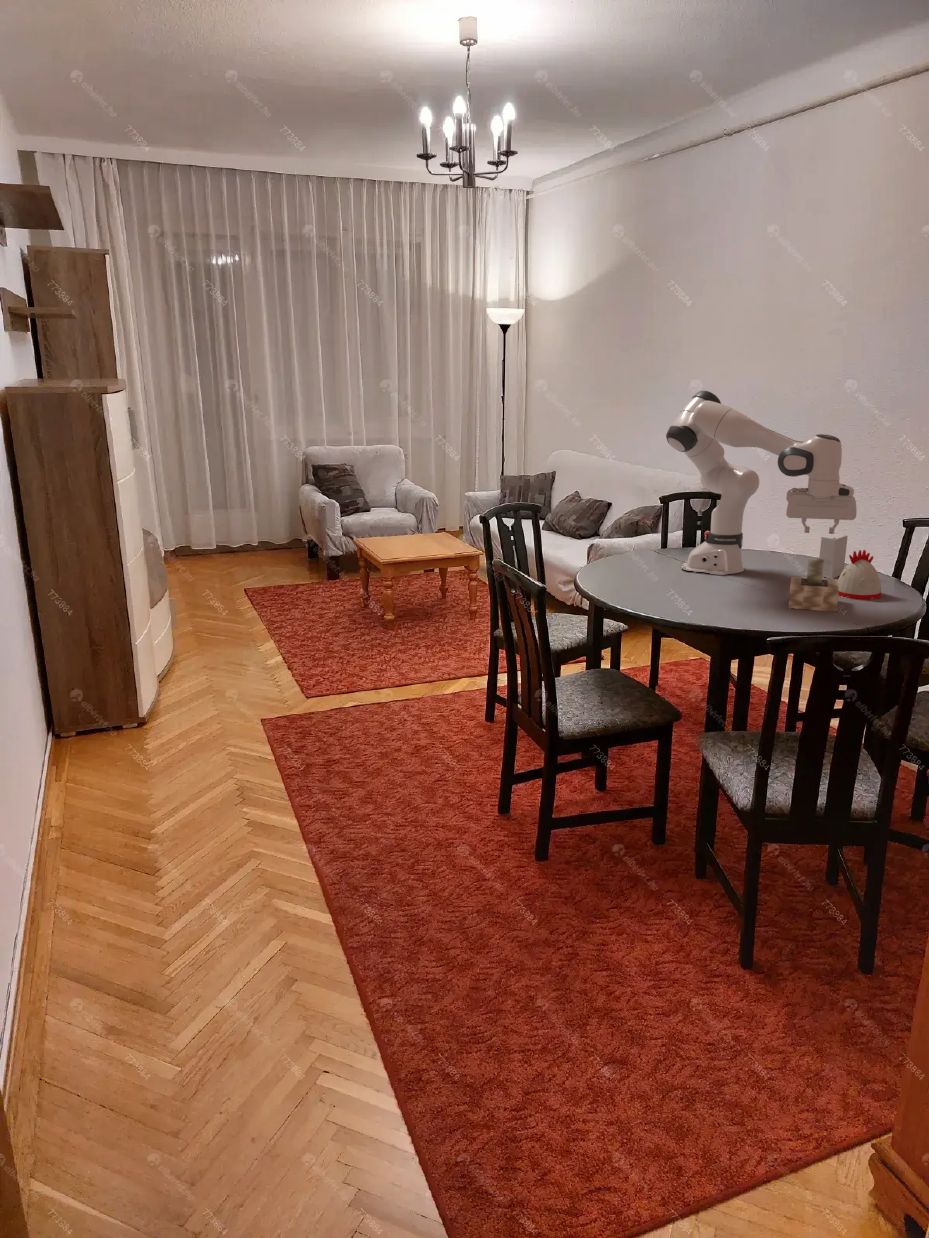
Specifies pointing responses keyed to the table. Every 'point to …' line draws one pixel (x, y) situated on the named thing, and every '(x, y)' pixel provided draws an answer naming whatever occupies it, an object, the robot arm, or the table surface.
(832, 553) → the skincare box
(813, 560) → the peg
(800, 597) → the birch holder
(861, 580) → the kitchen timer
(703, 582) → the table surface
